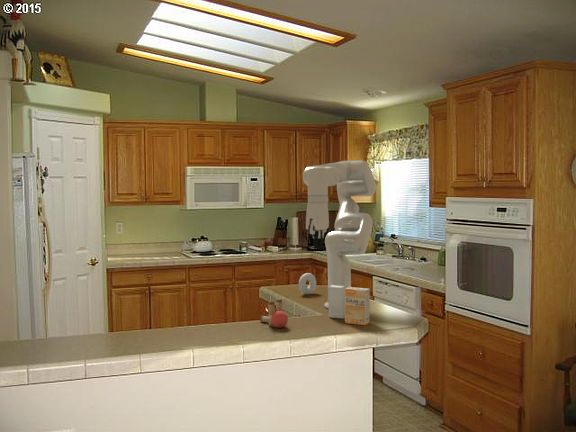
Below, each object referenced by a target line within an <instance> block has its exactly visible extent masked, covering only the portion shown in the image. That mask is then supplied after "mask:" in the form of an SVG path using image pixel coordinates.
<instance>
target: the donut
mask: <svg viewBox="0 0 576 432" xmlns="http://www.w3.org/2000/svg"><path fill="white" fill-rule="evenodd" d="M307 281H308V285H307V284H306V283H307ZM316 287H317V278H316V277H315V275H314V274H312V273H310V272H306V273H303V274H302V275H300V278H299V280H298V289H299V291H300V292H301V293H302V294H304V295H310V294H313V292H314V291H315V289H316Z"/></svg>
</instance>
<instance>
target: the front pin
mask: <svg viewBox="0 0 576 432" xmlns="http://www.w3.org/2000/svg"><path fill="white" fill-rule="evenodd" d="M259 321H260V322H261V323H268V324H269V316H267V315H266V316H265V315H260V318H259Z"/></svg>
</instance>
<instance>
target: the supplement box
mask: <svg viewBox="0 0 576 432" xmlns="http://www.w3.org/2000/svg"><path fill="white" fill-rule="evenodd" d="M370 290H371V289H370V288H364V287H354V286H353V287H352V286H351V287H348V288H346V289H345V318H344V324H350V325H359V326H367V325H369V324H370V313H371V311H370V304H371V303H370V302H371V301H370V300H371V297H370V296H371V295H370V293H371V292H370Z"/></svg>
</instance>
